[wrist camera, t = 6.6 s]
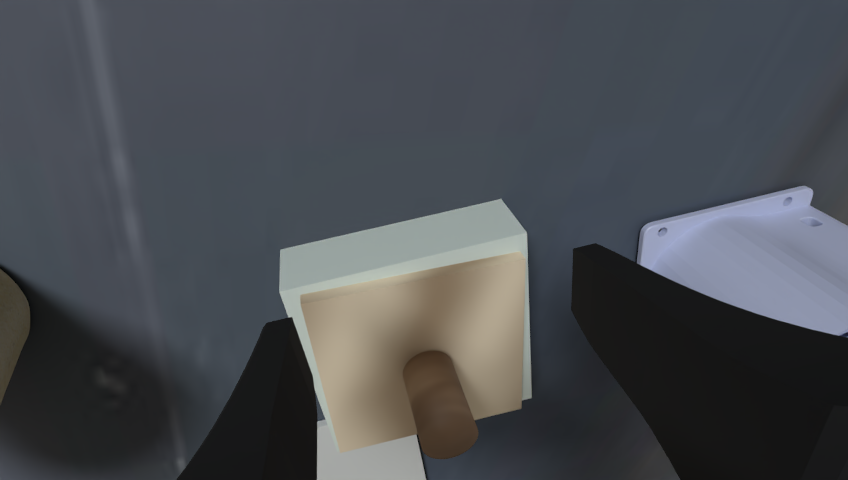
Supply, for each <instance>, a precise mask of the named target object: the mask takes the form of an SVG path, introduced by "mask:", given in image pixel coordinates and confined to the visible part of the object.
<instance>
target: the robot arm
mask: <svg viewBox="0 0 848 480" xmlns="http://www.w3.org/2000/svg"><path fill="white" fill-rule="evenodd" d="M812 196H813V191H812V189H810V188H808V187H806V186H800V187H796V188H791V189H787V190H783V191H779V192H775V193H771V194H766V195H762V196H758V197H754V198H750V199H746V200H741V201H737V202H733V203H729V204H725V205H721V206H716V207H712V208H708V209H704V210H700V211H696V212H691V213H687V214H683V215H679V216H675V217H671V218H666V219H662V220H658V221H654V222H650V223H648V224H646V225H645V226H643V228H642V229H641V232H640V238H639V247H638V256H637V263H635V262H633V261H631V260H629V259H627V258H625V257H623V256H621V255H619V254H617V253H615V252H613V251H611V250H609V249H607V248H605V247H603V246H601V245H598V244H596V243H595V244H591V245H587V246H583V247H578V248H574V249H573V275H572V306H571V310H572V312H573V314H574V316H575V318H576V320H577V322H578V324H579V326H580V327H581V329H582V331H583V333H584V335H585V336H586V338H587V340H588V342H589V343H590V345H591V346H592V347H593V349H594V350H595V352H596V353H597V354H598V356H599V357H600V359H601V360H602V361H603V363H604V364H605V365H606V367H607V368H608V369H609V371H610V372H611V373H612V375H613V376H614V378H615V379H616V380H617V382H618V383H619V384H620V386H621V387H622V388H623V390H624V391H625V392H626V394H627V395H628V396H629V398H630V399H631V400H632V402H633V403H634V405H635V406H636V407H637V409H638V410H639V411H640V413H641V414H642V416H643V417H644V419H645V420H646V422H647V423H648V425H649V426H650V428H651V429H652V431H653V433H654V435H655V436H656V438H657V440H658V441H659V443H660V445H661V446H662V448H663V450H664V451H665V453H666V455H667V457H668V458H669V460H670V462H671V463H672V465H673V467H674V469H675V471H676V472H677V474H678V476H679V478H680V480H848V226H847V225H845V224H843V223H841V222H839V221H838V220H836V219H834V218H832V217H830V216H828V215H827V214H825V213H823V212H821V211H819V210H817V209H815V208H814V207H812V206H810V202H811V199H812ZM661 228H662V230H661V231H660V232H658V231H659V230H660V229H661ZM177 480H317V407H316V398H315V389H314V381H313V375H312V372H311V369H310V367H309V364H308V361H307V358H306V355H305V352H304V350H303V347H302V344H301V341H300V338H299V335H298V332H297V330H296V327H295V324H294V321H293V318H292V317H289V318H285V319H281V320H277V321H273V322H268V323H266V325H265V326H264V327H263V329H262V332H261V334H260V337H259V339H258V341H257V344H256V346H255V348H254V350H253V352H252V355H251V357H250V359H249V361H248V363H247V365H246V367H245V369H244V371H243V373H242V375H241V377H240V379H239V381H238V383H237V385H236V387H235V389H234V391H233V393H232V395H231V397H230V399H229V400H228V402H227V404H226V405H225V407H224V409H223V411H222V412H221V414H220V416H219V418H218V419H217V421H216V423H215V424H214V426H213V428H212V429H211V431H210V432H209V434H208V436H207V437H206V439H205V440H204V442H203V443H202V445H201V446H200V448H199V449H198V451H197V452H196V454H195V455H194V457H193V458H192V459H191V461H190V462H189V464H188V465H187V466H186V468H185V469H184V471H183V472H182V473H181V474H180V476H179V477H178V478H177Z"/></svg>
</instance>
